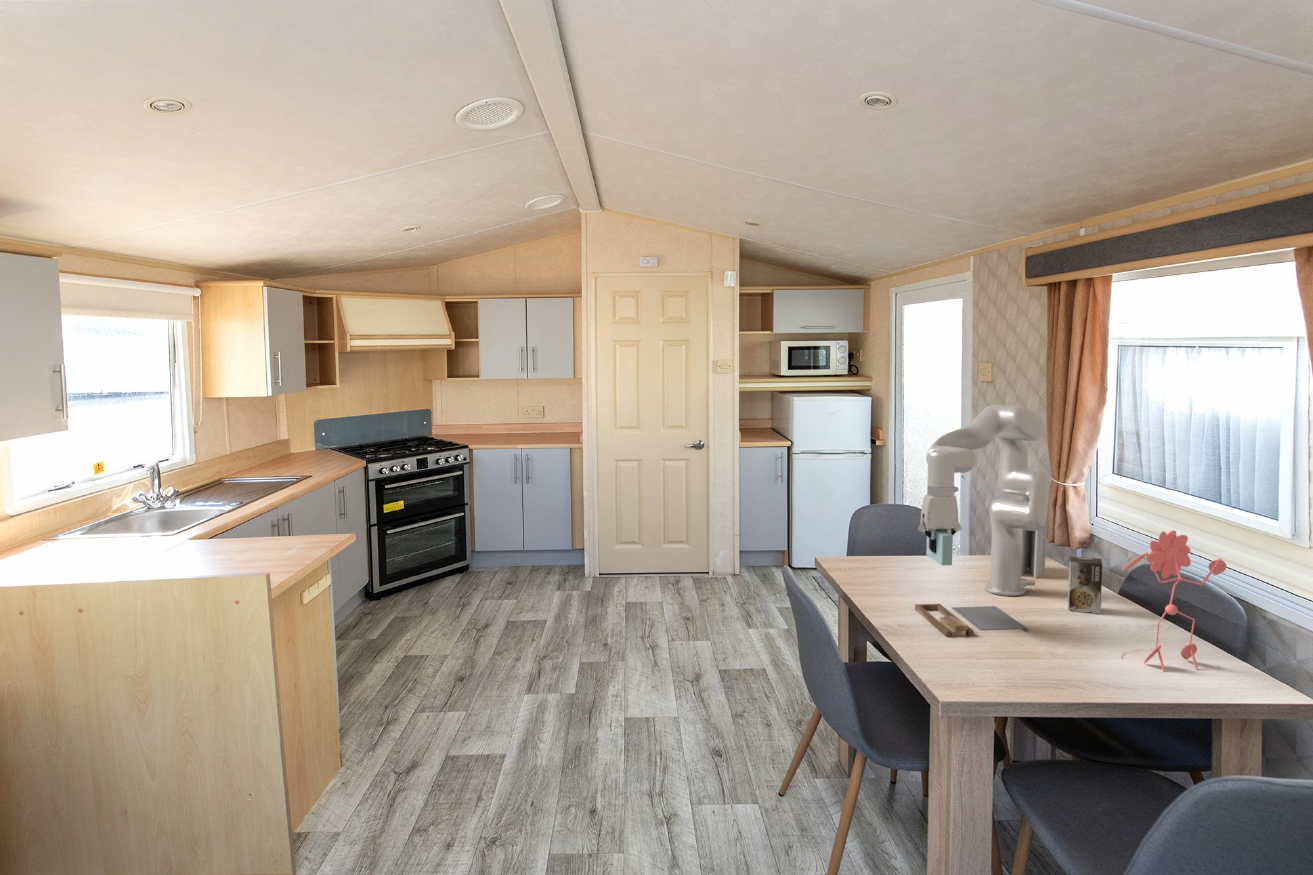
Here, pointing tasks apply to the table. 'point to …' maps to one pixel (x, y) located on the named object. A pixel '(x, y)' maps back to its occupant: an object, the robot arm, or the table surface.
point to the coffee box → (1085, 584)
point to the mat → (989, 618)
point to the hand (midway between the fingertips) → (939, 550)
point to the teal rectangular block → (941, 547)
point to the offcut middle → (957, 632)
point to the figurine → (1169, 560)
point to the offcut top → (953, 623)
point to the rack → (945, 631)
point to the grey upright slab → (1033, 549)
